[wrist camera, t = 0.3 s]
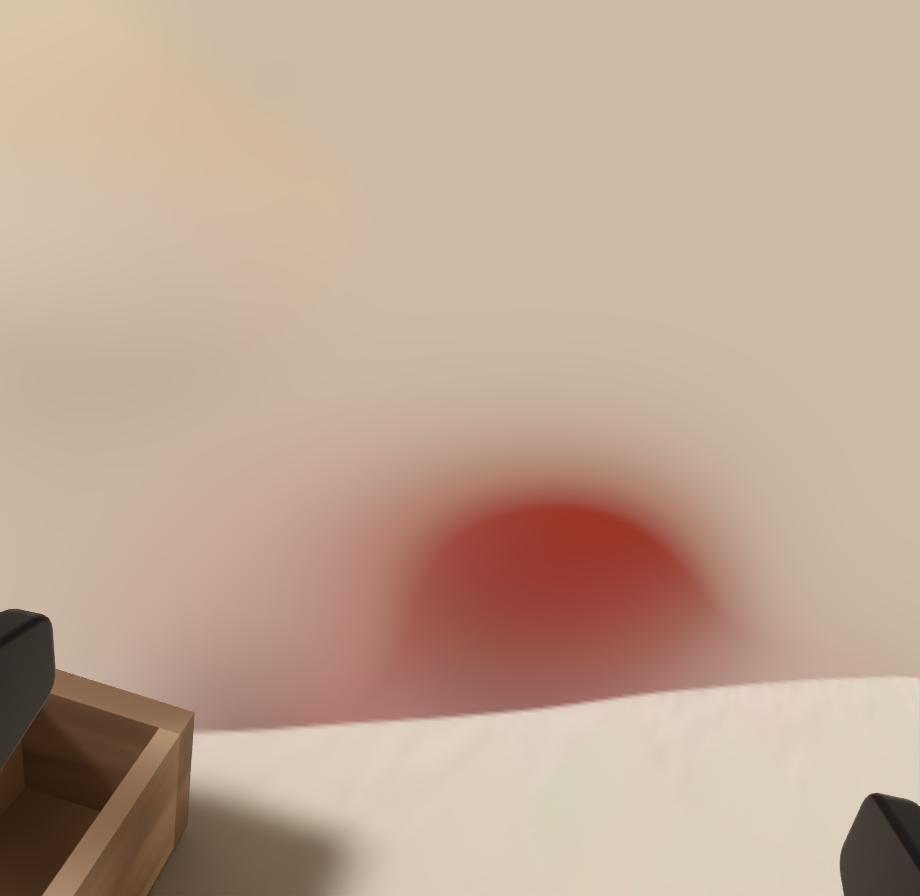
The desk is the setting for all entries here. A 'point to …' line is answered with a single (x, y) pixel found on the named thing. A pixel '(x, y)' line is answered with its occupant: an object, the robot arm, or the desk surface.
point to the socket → (94, 793)
